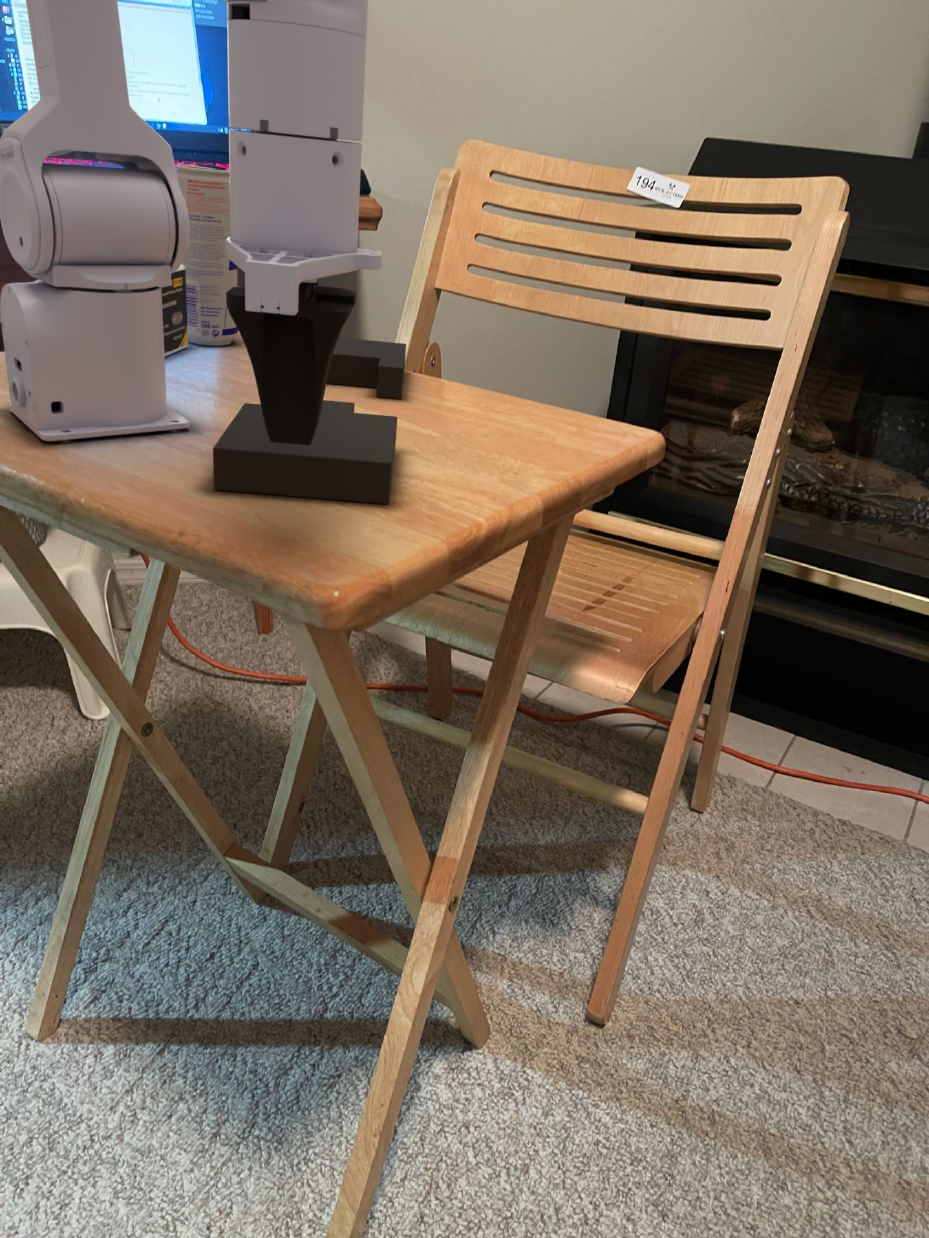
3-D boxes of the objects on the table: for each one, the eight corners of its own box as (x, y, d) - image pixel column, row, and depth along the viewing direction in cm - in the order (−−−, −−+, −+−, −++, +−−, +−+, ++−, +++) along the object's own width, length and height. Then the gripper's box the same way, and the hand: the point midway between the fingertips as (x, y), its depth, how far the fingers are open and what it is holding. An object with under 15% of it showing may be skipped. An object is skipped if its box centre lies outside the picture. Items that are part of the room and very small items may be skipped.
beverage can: (245, 339, 90) (243, 167, 83) (227, 349, 86) (224, 168, 79) (193, 333, 90) (187, 161, 83) (173, 343, 86) (165, 162, 79)
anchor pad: (401, 399, 76) (403, 368, 75) (276, 388, 75) (276, 356, 74) (404, 371, 85) (406, 343, 84) (293, 361, 84) (293, 333, 83)
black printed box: (153, 363, 78) (145, 207, 73) (73, 352, 79) (59, 197, 74) (189, 347, 85) (184, 203, 79) (115, 337, 85) (105, 194, 80)
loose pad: (389, 504, 54) (391, 463, 53) (213, 490, 53) (212, 447, 52) (396, 442, 65) (398, 406, 64) (251, 429, 64) (250, 393, 63)
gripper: (379, 147, 35) (362, 495, 41) (393, 145, 48) (378, 409, 54) (186, 127, 34) (198, 481, 40) (253, 130, 47) (254, 398, 53)
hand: (291, 440), depth 47 cm, fingers closed
